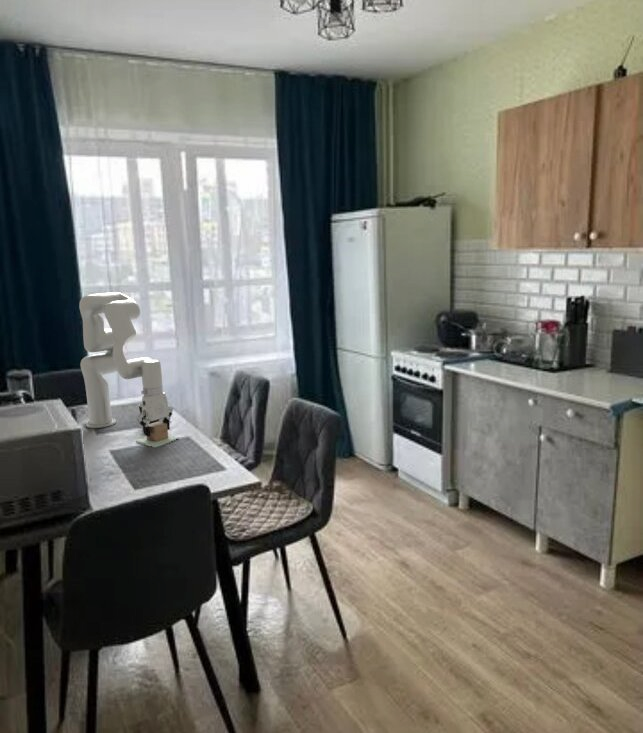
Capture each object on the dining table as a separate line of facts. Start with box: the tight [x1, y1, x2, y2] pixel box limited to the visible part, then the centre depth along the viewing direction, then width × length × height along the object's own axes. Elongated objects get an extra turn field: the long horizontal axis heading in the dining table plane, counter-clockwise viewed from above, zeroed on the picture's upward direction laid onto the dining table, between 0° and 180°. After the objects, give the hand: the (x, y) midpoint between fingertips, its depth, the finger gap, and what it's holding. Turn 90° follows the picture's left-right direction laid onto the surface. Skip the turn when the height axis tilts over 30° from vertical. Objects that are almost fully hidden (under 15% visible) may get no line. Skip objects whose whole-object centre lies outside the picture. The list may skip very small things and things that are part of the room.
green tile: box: [135, 434, 180, 448], centre depth 239 cm, size 12×12×1 cm
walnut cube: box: [145, 421, 169, 442], centre depth 238 cm, size 6×6×6 cm
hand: (157, 432), depth 238 cm, fingers open, 9 cm apart
